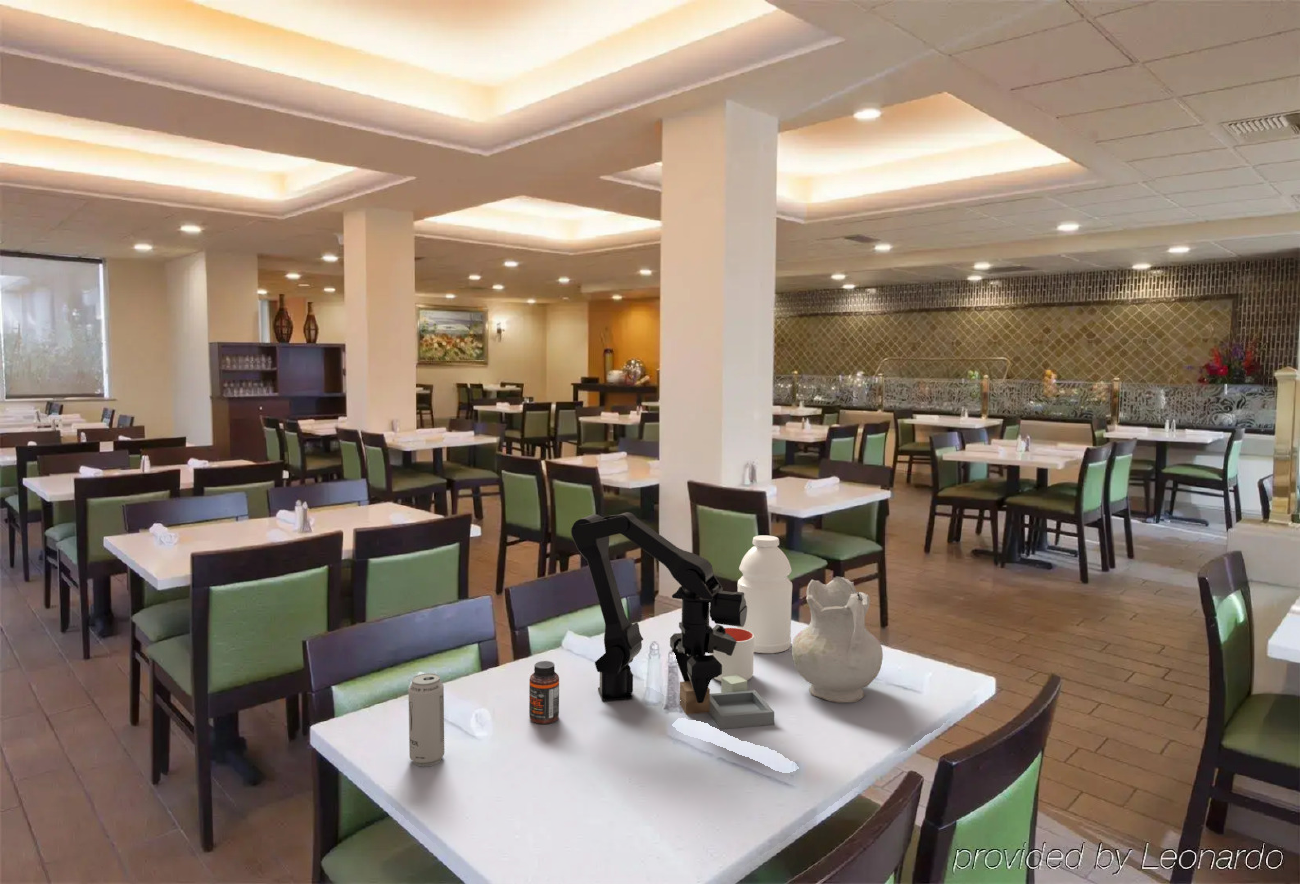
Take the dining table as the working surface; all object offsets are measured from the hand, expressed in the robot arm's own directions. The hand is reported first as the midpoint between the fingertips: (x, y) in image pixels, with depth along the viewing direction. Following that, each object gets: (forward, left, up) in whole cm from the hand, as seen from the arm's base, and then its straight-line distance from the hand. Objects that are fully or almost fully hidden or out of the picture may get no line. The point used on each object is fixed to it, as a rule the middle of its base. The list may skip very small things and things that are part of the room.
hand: (694, 693), depth 166 cm
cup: (+13, +15, -3) cm, 20 cm away
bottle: (+28, +34, -3) cm, 44 cm away
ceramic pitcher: (+33, +1, -3) cm, 33 cm away
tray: (+8, -5, -3) cm, 10 cm away
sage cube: (+10, +4, -3) cm, 11 cm away
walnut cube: (0, 0, -3) cm, 3 cm away
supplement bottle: (-31, +1, -3) cm, 31 cm away
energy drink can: (-53, -12, -3) cm, 54 cm away
